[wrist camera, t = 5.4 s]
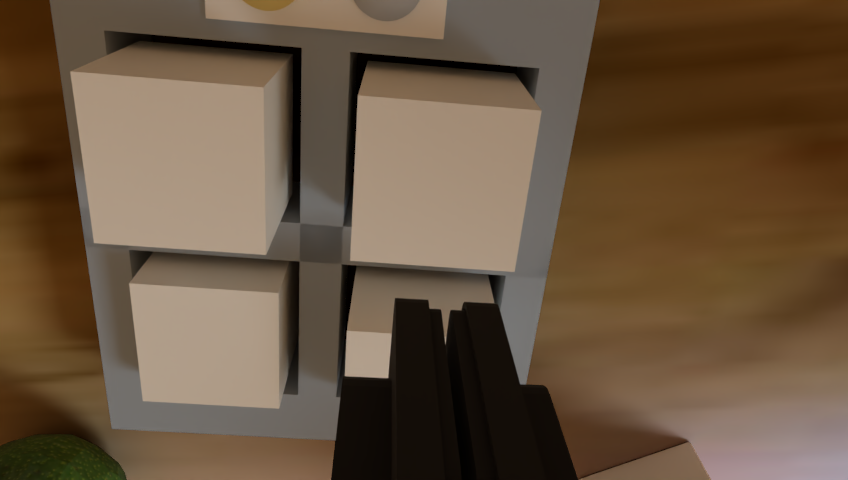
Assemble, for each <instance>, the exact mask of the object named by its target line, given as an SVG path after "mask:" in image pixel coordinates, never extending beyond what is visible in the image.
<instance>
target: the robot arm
mask: <svg viewBox="0 0 848 480" xmlns="http://www.w3.org/2000/svg"><path fill="white" fill-rule="evenodd" d="M331 480H578V478H577V475H576V472H575V469H574V466H573V463H572V460H571V457H570V454H569V451H568V448H567V445H566V442H565V439H564V436H563V433H562V430H561V427H560V424H559V421H558V418H557V415H556V412H555V409H554V406H553V403H552V400H551V397H550V394H549V392H548V390H547V388H546V387H545V386H544V385H524V384H520V382H519V378H518V374H517V371H516V367H515V363H514V360H513V356H512V352H511V349H510V345H509V341H508V338H507V334H506V330H505V327H504V323H503V319H502V316H501V312H500V308H499V306H498V304H496V303H478V302H464V303H463V306H462V310H451V311H450V314H449V321H448V329H447V337H446V345H445V336H444V328H443V320H442V312H441V309H429V301H428V300H424V299H406V298H395V302H394V312H393V324H392V337H391V349H390V361H389V374H388V378H372V377H350V376H343V379H342V387H341V396H340V405H339V414H338V423H337V432H336V441H335V450H334V459H333V468H332V477H331Z"/></svg>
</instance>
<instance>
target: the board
mask: <svg viewBox="0 0 848 480" xmlns="http://www.w3.org/2000/svg"><path fill="white" fill-rule="evenodd" d="M599 2H600V0H50V7H51V13H52V20H53V27H54V34H55V41H56V48H57V55H58V62H59V69H60V75H61V82H62V89H63V96H64V103H65V110H66V117H67V124H68V131H69V137H70V144H71V151H72V158H73V165H74V172H75V179H76V186H77V193H78V199H79V206H80V213H81V220H82V227H83V234H84V241H85V248H86V255H87V261H88V268H89V275H90V282H91V289H92V296H93V303H94V310H95V317H96V323H97V330H98V337H99V344H100V351H101V358H102V365H103V372H104V379H105V385H106V392H107V399H108V406H109V413H110V420H111V427H112V429H125V430H144V431H163V432H182V433H201V434H220V435H239V436H258V437H277V438H296V439H315V440H334V441H336V432H337V423H338V414H339V405H340V396H341V387H342V379H343V376H345V359H346V340H345V323H346V301H347V278H348V265H358V266H373V267H388V268H402V269H417V270H432V271H446V272H461V273H475V274H488V277H489V281H490V286H491V290H492V294H493V299H494V303H496V304H498V306H499V308H500V312H501V316H502V319H503V323H504V327H505V330H506V334H507V338H508V341H509V345H510V349H511V352H512V356H513V360H514V363H515V367H516V371H517V374H518V378H519V382H520V384H524V385H526V382H527V377H528V371H529V366H530V361H531V356H532V351H533V345H534V340H535V335H536V330H537V325H538V319H539V314H540V309H541V304H542V299H543V293H544V288H545V283H546V278H547V273H548V267H549V262H550V257H551V252H552V247H553V241H554V236H555V231H556V226H557V221H558V216H559V210H560V205H561V200H562V195H563V190H564V184H565V179H566V174H567V169H568V164H569V158H570V153H571V148H572V143H573V138H574V132H575V127H576V122H577V117H578V112H579V106H580V101H581V96H582V91H583V86H584V80H585V75H586V70H587V65H588V60H589V54H590V49H591V44H592V39H593V34H594V28H595V23H596V18H597V13H598V8H599ZM152 35H162V36H174V37H185V38H197V39H208V40H220V41H231V42H243V43H254V44H265V45H277V46H288V47H300V48H302V67H301V169H300V182H294V181H292V195H291V198H290V200H289V202H288V205H287V207H286V209H285V212H284V214H283V216H282V219H281V221H280V223H279V226H278V228H277V230H276V233H275V235H274V237H273V240H272V242H271V244H270V247H269V249H268V251H267V254H266V255H259V254H245V253H230V252H216V251H201V250H186V249H172V248H157V247H143V246H128V245H114V244H99V243H94V239H93V232H92V225H91V218H90V210H89V203H88V196H87V189H86V182H85V174H84V167H83V160H82V153H81V145H80V138H79V131H78V124H77V117H76V109H75V102H74V95H73V88H72V81H71V73H70V71H72V70H75V69H77V68H79V67H81V66H84V65H86V64H88V63H91V62H93V61H95V60H97V59H100V58H102V57H104V56H107V55H109V54H111V53H113V52H116V51H118V50H120V49H123V48H125V47H127V46H129V45H132V44H134V43H136V42H139V41H147V42H152ZM358 53H369V54H380V55H392V56H403V57H415V58H426V59H437V60H449V61H460V62H472V63H483V64H495V65H506V66H517V72H516V76H517V77H518V78H519V80H520V81H521V83H522V84H523V85H524V87H525V88H526V90H527V91H528V92H529V94H530V95H531V97H532V98H533V99H534V101H535V102H536V103H537V105H538V106H539V108H540V109H541V110H542V112H541V118H540V124H539V130H538V136H537V142H536V148H535V154H534V159H533V165H532V171H531V177H530V183H529V189H528V195H527V201H526V207H525V213H524V219H523V225H522V231H521V237H520V243H519V249H518V255H517V261H516V267H515V272H507V271H492V270H478V269H463V268H448V267H434V266H419V265H405V264H390V263H376V262H361V261H350V252H351V231H352V209H353V188H354V186H352V168H353V146H354V124H355V102H356V80H357V58H358ZM153 252H168V253H183V254H197V255H212V256H227V257H241V258H256V259H271V260H285V261H300V272H299V337H298V339H297V343H296V347H295V351H294V354H293V358H292V362H291V366H290V370H289V373H288V377H287V381H286V385H285V388H284V392H283V396H282V400H281V404H280V407H279V409H275V408H257V407H239V406H221V405H203V404H185V403H167V402H149V401H143V399H142V390H141V382H140V373H139V365H138V356H137V347H136V339H135V330H134V322H133V313H132V305H131V296H130V287H129V283H130V281H131V280H132V279H133V278H134V276H135V275H136V274H137V272H138V271H139V270H140V269H141V267H142V266H143V265H144V263H145V262H146V261H147V260H148V258H149V257H150V256H151V254H152V253H153Z"/></svg>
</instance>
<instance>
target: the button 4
mask: <svg viewBox="0 0 848 480" xmlns="http://www.w3.org/2000/svg"><path fill="white" fill-rule="evenodd" d="M395 298H406V299H424V300H428V301H429V309H441V312H442V320H443V328H444V336H445V345H446V337H447V329H448V321H449V314H450V311H451V310H462V306H463V303H464V302H478V303H494V299H493V294H492V290H491V286H490V281H489V277H488V274H475V273H461V272H446V271H432V270H417V269H402V268H388V267H373V266H358V265H357V266H356V273H355V279H354V286H353V293H352V299H351V306H350V313H349V320H348V326H347V338H346V359H345V376H350V377H372V378H388V374H389V361H390V349H391V337H392V324H393V312H394V302H395Z"/></svg>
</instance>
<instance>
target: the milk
mask: <svg viewBox="0 0 848 480" xmlns="http://www.w3.org/2000/svg"><path fill="white" fill-rule="evenodd" d="M579 480H711V479H710V477H709V475H708V473H707V471H706V470H705V468H704V466H703V464H702V462H701V460H700V459H699V457H698V455H697V453H696V451H695V449H694V448H693V446H692V444H691V443H690V442H687V443H684V444H681V445H678V446H675V447H672V448H669V449H666V450H663V451H661V452H658V453H655V454H652V455H649V456H646V457H643V458H640V459H637V460H634V461H631V462H628V463H625V464H622V465H619V466H616V467H613V468H611V469H608V470H605V471H602V472H599V473H596V474H593V475H590V476H587V477H584V478H581V479H579Z"/></svg>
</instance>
